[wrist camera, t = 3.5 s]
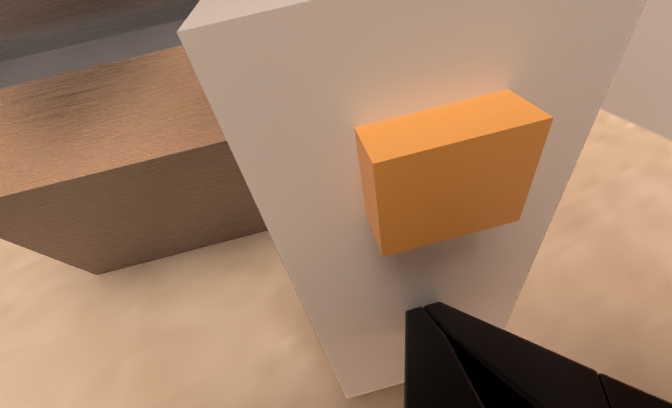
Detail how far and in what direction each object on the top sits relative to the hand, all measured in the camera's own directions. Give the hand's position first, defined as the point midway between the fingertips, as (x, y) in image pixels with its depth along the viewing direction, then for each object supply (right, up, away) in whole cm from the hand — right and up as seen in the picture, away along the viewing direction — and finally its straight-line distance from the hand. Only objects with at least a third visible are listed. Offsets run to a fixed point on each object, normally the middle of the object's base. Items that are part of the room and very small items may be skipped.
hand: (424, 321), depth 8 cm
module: (0, -2, +4) cm, 4 cm away
